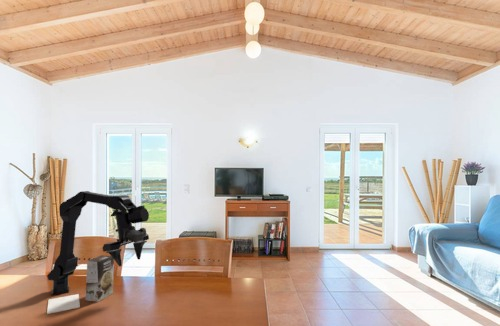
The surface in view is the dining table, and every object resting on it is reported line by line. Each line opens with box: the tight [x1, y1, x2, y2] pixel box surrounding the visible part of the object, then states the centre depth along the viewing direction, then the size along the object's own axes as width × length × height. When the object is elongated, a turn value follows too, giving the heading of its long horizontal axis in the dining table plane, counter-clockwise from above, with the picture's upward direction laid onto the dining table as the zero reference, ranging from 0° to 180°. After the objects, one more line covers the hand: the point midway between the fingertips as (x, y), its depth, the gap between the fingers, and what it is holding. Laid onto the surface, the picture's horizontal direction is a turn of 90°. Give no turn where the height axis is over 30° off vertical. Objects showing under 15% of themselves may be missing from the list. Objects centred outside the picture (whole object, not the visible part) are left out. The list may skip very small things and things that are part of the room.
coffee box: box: [85, 255, 115, 303], centre depth 122 cm, size 9×6×16 cm
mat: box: [46, 293, 81, 315], centre depth 115 cm, size 14×10×1 cm
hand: (129, 262), depth 120 cm, fingers open, 9 cm apart
